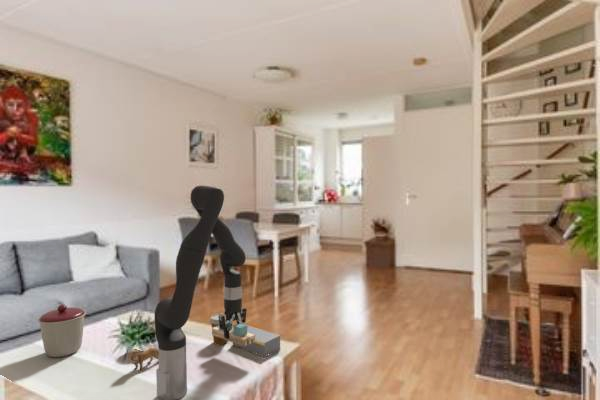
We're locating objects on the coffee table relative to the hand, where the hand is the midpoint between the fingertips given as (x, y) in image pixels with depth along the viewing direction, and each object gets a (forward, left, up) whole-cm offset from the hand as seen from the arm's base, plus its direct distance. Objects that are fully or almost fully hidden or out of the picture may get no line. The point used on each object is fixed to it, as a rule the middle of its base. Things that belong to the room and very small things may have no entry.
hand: (233, 335), depth 161 cm
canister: (-42, +64, -9) cm, 77 cm away
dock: (+13, 0, -9) cm, 16 cm away
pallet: (0, 0, -1) cm, 1 cm away
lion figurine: (-27, +22, -10) cm, 36 cm away
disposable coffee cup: (+7, +17, -9) cm, 21 cm away
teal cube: (0, -5, +2) cm, 5 cm away
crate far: (0, +5, +2) cm, 5 cm away
